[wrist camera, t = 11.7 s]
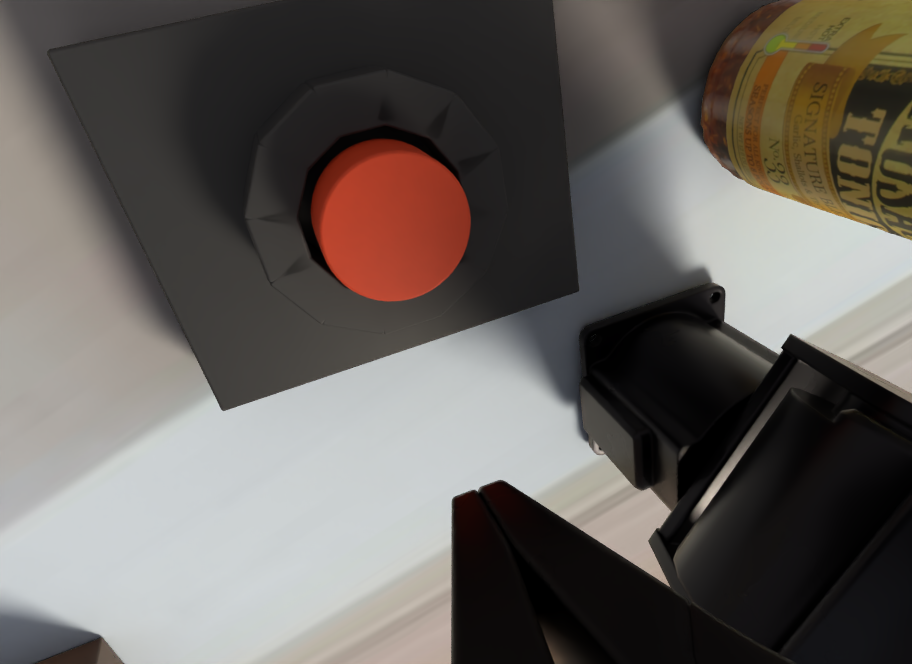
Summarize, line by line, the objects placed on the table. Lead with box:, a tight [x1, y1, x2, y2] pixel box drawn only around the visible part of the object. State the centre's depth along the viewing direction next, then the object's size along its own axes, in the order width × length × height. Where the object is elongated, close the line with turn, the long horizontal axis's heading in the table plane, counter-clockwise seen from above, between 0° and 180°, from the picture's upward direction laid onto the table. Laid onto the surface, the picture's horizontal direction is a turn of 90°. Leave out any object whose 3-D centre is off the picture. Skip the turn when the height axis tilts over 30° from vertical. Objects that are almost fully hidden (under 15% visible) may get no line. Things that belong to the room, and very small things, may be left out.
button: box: [311, 138, 471, 301], centre depth 14 cm, size 4×4×2 cm
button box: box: [47, 0, 579, 411], centre depth 17 cm, size 12×10×4 cm
